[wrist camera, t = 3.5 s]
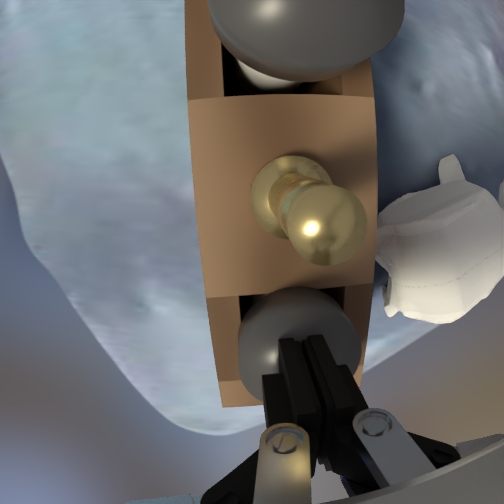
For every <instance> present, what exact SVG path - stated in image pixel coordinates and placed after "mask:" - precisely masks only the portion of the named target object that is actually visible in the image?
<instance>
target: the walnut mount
mask: <svg viewBox="0 0 504 504" xmlns="http://www.w3.org/2000/svg"><path fill="white" fill-rule="evenodd" d="M185 51H186V78H187V99H188V116H189V132H190V146H191V160H192V172H193V184H194V195H195V206H196V216H197V226H198V235H199V245H200V253H201V262H202V271H203V279H204V287H205V295H206V302H207V310H208V317H209V324H210V331H211V338H212V345H213V352H214V358H215V365H216V371H217V377H218V383H219V389H220V395H221V401H222V407H223V408H224V407H242V406H255V405H264V404H263V402H262V401H260V400H258V399H257V398H255V397H254V396H253V395H251V394H250V393H249V392H248V390H247V389H246V388H245V386H244V385H243V383H242V381H241V378H240V374H239V363H238V330H239V327H240V323H241V321H242V319H243V317H244V316H245V314H246V312H247V311H248V310H249V309H250V308H251V307H250V303H245V304H242V303H241V295H254V294H267V293H271V292H274V291H277V290H280V289H283V288H288V287H310V288H314V289H318V290H320V291H323V292H325V293H326V294H328V295H330V296H331V297H332V298H334V300H335V301H336V302H337V303H338V304H339V305H340V307H341V308H342V310H343V311H344V313H345V314H346V316H347V317H348V319H349V320H350V322H351V324H352V325H353V327H354V328H355V330H356V331H357V333H358V336H359V338H360V341H361V348H362V352H361V359H360V363H359V366H358V369H357V370H356V372H355V374H354V376H353V377H354V379H355V381H356V383H357V385H358V387H360V382H361V376H362V370H363V364H364V357H365V351H366V344H367V337H368V329H369V321H370V312H371V303H372V293H373V282H374V269H375V255H376V236H377V204H378V165H377V134H376V116H375V102H374V90H373V79H372V70H371V61H370V57H369V58H367V59H366V60H364V61H363V62H361V63H360V64H358V65H356V66H355V67H353V68H352V69H350V70H348V71H347V72H345V73H343V74H341V75H339V76H336V77H334V78H330V79H327V80H322V81H316V82H302V83H301V84H300V85H299V86H298V88H299V94H270V95H245V96H229V97H227V95H226V78H225V61H224V53H230V52H229V51H228V50H227V49H226V48H225V46H224V45H223V44H222V42H221V41H220V39H219V38H218V37H217V34H216V32H215V30H214V28H213V25H212V22H211V17H210V12H209V6H208V0H185ZM282 156H301V157H305V158H309V159H311V160H313V161H315V162H316V163H318V164H319V165H320V166H321V167H322V168H323V169H324V170H325V171H326V172H327V174H328V175H329V177H330V179H331V181H332V184H333V185H336V186H338V187H341V188H344V189H346V190H348V191H350V192H351V193H353V194H354V195H355V196H356V197H357V198H358V199H359V200H360V201H361V203H362V205H363V206H364V209H365V211H366V215H367V233H366V236H365V239H364V242H363V244H362V245H361V247H360V249H359V250H358V251H357V252H356V253H355V254H354V255H353V256H352V257H351V258H349V259H348V260H346V261H345V262H342V263H340V264H337V265H333V266H320V265H316V264H313V263H310V262H309V261H307V260H305V259H304V258H303V257H302V256H301V255H300V254H299V253H298V252H297V251H296V249H295V248H294V246H293V244H292V243H291V241H290V240H287V239H282V238H278V237H276V236H274V235H272V234H270V233H269V232H267V231H266V230H265V229H264V228H263V227H262V226H261V225H260V224H259V222H258V221H257V219H256V218H255V215H254V213H253V210H252V207H251V202H250V190H251V185H252V182H253V180H254V178H255V176H256V174H257V173H258V171H259V170H260V169H261V168H262V167H263V166H264V165H265V164H267V163H268V162H269V161H271V160H273V159H275V158H278V157H282Z"/></svg>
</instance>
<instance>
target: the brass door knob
mask: <svg viewBox="0 0 504 504" xmlns="http://www.w3.org/2000/svg"><path fill="white" fill-rule="evenodd" d="M250 202H251V207H252V210H253V213H254V215H255V218H256V219H257V221H258V222H259V224H260V225H261V226H262V227H263V228H264V229H265V230H266V231H267V232H269V233H270V234H272V235H274V236H276V237H278V238H282V239H287V240H290V241H291V243H292V244H293V246H294V248H295V249H296V251H297V252H298V253H299V254H300V255H301V256H302V257H303V258H304V259H305V260H307V261H309V262H310V263H313V264H316V265H320V266H333V265H337V264H340V263H342V262H345V261H346V260H348V259H349V258H351V257H352V256H353V255H354V254H355V253H356V252H357V251H358V250H359V249H360V247H361V245H362V244H363V242H364V239H365V236H366V233H367V215H366V211H365V209H364V206H363V205H362V203H361V201H360V200H359V199H358V198H357V197H356V196H355V195H354V194H353V193H351V192H350V191H348V190H346V189H344V188H341V187H338V186H336V185H333V184H332V181H331V179H330V177H329V175H328V174H327V172H326V171H325V170H324V169H323V168H322V167H321V166H320V165H319V164H318V163H316V162H315V161H313V160H311V159H309V158H305V157H301V156H282V157H278V158H275V159H273V160H271V161H269V162H268V163H267V164H265V165H264V166H263V167H262V168H261V169H260V170H259V171H258V173H257V174H256V176H255V178H254V180H253V182H252V185H251V190H250Z"/></svg>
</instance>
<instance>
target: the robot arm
mask: <svg viewBox="0 0 504 504" xmlns="http://www.w3.org/2000/svg"><path fill="white" fill-rule="evenodd" d="M278 358H279V373H274V374H264V375H262V393H263V404H264V412H265V420H266V427H267V429H266V430H265V431H264V432H263V434H262V435H261V438H260V445H259V449H258V450H257V451H256V452H255V453H253V454H252V455H251V456H250V457H249V458H247V459H246V460H245V461H244V462H243V463H241V464H240V465H239V466H238V467H237V468H235V469H234V470H233V471H232V472H230V473H229V474H228V475H227V476H225V477H224V478H223V479H222V480H220V481H219V482H218V483H217V484H215V485H214V486H212V487H211V488H210V489H208V490H207V491H206V492H205V494H203V495H199V496H191V494H188V495H182V496H175V497H167V498H158V499H149V500H136V501H130V502H127V503H125V504H312V503H311V478H312V477H313V476H314V473H315V466H316V460H317V459H318V463H319V464H320V465H321V464H324V465H325V469H326V471H331V470H332V471H333V472H334V473H336V474H338V475H340V479H341V482H342V484H343V486H344V488H345V490H346V492H347V494H348V496H349V498H345V499H340V500H335V501H330V502H325V503H320V504H504V434H495V435H491V436H487V437H483V438H479V439H475V440H470V441H466V442H461V443H457V444H456V446H454V447H453V446H451V445H449V444H446V443H443V442H439V441H436V440H432V439H429V438H426V437H423V436H419V435H416V434H413V433H410V432H407V431H406V430H405V429H404V428H403V427H402V425H401V424H400V423H399V422H398V421H397V419H396V418H395V417H394V416H393V415H392V414H391V413H390V412H388V411H386V410H383V409H379V408H370V409H369V407H368V405H367V403H366V401H365V399H364V397H363V395H362V393H361V391H360V389H359V387H358V385H357V383H356V381H355V379H354V377H353V375H352V373H351V371H350V369H349V367H348V366H347V365H346V364H343V365H337V364H336V362H335V360H334V358H333V355H332V353H331V351H330V349H329V347H328V345H327V343H326V341H325V338H324V336H323V335H322V334H320V335H312V336H308V337H307V340H303V341H302V348H301V346H300V343H299V341H294V339H293V338H285V339H278Z"/></svg>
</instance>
